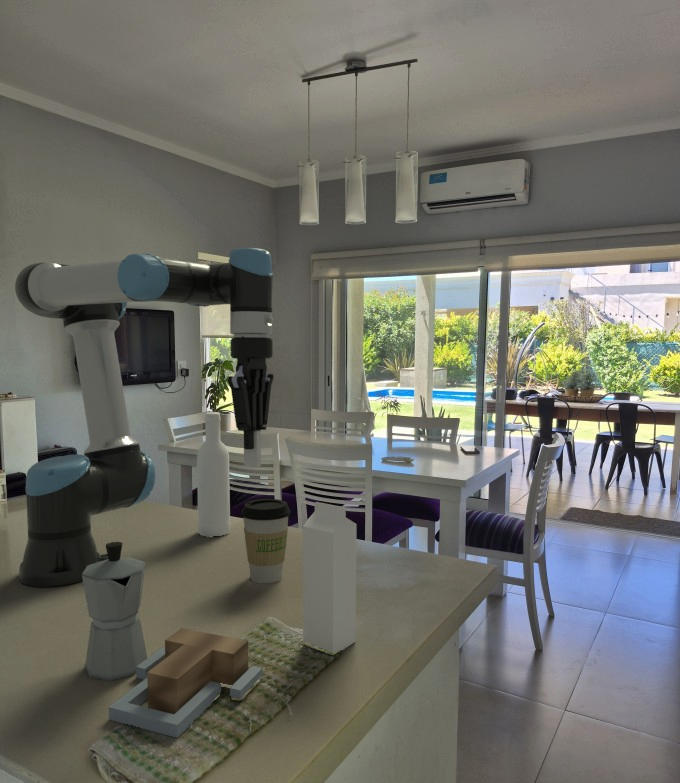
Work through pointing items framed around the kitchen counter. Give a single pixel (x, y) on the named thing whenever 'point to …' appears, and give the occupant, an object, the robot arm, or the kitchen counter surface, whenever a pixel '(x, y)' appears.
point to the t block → (194, 667)
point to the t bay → (177, 723)
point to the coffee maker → (114, 615)
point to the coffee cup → (266, 538)
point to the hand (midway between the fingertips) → (252, 465)
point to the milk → (329, 578)
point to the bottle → (213, 481)
